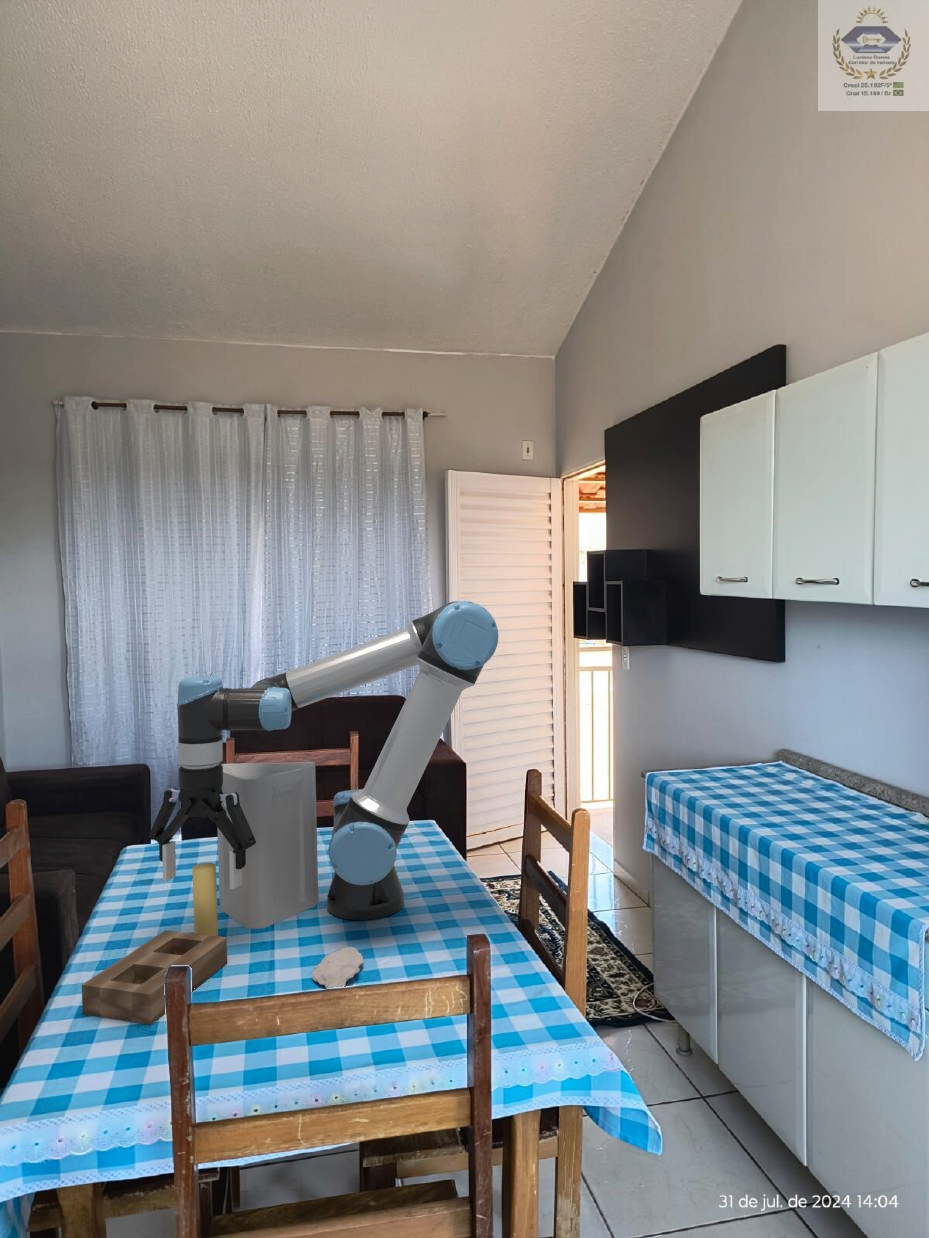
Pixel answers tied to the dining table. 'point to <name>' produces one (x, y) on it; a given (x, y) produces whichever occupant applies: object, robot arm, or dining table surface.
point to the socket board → (151, 976)
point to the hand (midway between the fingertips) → (202, 882)
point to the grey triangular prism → (272, 843)
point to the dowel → (205, 899)
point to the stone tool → (338, 967)
